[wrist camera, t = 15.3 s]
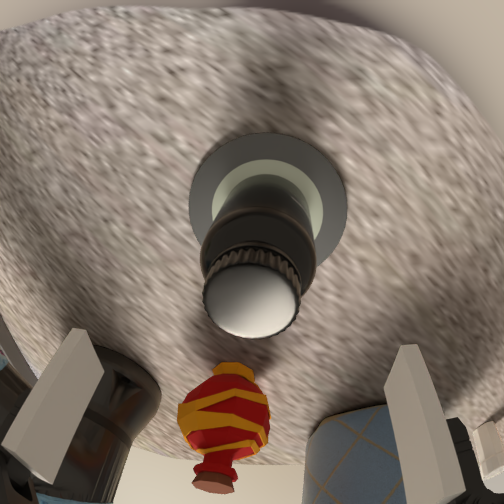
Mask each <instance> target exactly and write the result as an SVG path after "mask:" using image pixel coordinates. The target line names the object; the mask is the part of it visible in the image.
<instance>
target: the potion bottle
mask: <svg viewBox="0 0 504 504" xmlns="http://www.w3.org/2000/svg"><path fill="white" fill-rule="evenodd" d="M212 371H213V374H214V376H212V377H210V378H209V379H207V380H206V381H204V382H203V383H202V384H200V385H199V386H198V387H196V388H195V389H194V390H192V391H191V392H189V393H188V394H187V396H186V398H185V400H184V401H183V403H182V404H178V415H177V422H178V424H179V427H180V429H181V431H182V434H183V436H184V439H185V441H186V442H187V443H188V444H189V446H190V447H191V449H193V450H195V451H196V452H198V453H201V454H202V455H204V460H203V463H200V464H197V465H195V467H194V468H193V470H194V472H195V474H196V475H197V476H196V477H195V479H194V480H193V482H192V484H193V485H194V486H195V487H196V488H198V489H201V490H204V491H206V492H209V493H218V494H228V493H232V492H234V488H233V484H232V482H235V481H236V480H237V479H238V476H237V473H236V471H235V469H234V468H231V467H232V461H233V460H240V459H243V458H247V457H250V456H253V455H256V454H257V453H258V452H259V451H260V449H259V448H262V447H264V446H265V445H266V444H267V443H268V434H269V430H270V424H269V419H271V415H270V410H269V406H268V401H267V397H266V395H264V394H263V393H262V391H261V389H260V388H259V387H258V385H257V384H255V383H254V381H255V379H254V373H253V370H251V369H250V368H248V367H246V366H245V365H243V364H241V363H239V362H221V363H220V364H219V365H218V366H216V367H215V368H214V369H212Z"/></svg>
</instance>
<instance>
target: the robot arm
mask: <svg viewBox="0 0 504 504" xmlns="http://www.w3.org/2000/svg"><path fill="white" fill-rule="evenodd" d="M384 392H385V396H386V400H387V404H388V408H389V413H390V417H391V421H392V426H393V430H394V435H395V440H396V445H397V450H398V455H399V460H400V465H401V470H402V476H403V482H404V488H405V494H406V500H407V504H504V493H501V494H498V493H493V492H492V491H491V490H489V489H487V488H486V487H485V485H484V483H483V481H482V477H481V474H480V470H479V467H478V463H477V460H476V457H475V454H474V450H472V448H473V447H472V444H471V441H469V439H470V438H469V435H468V432H467V429H466V427H465V425H464V424H463V423H462V422H461V421H460V419H459V418H458V417H456V418H451V419H447V420H446V419H445V416H444V413H443V410H442V407H441V404H440V402H439V399H438V396H437V393H436V390H435V388H434V385H433V382H432V380H431V377H430V374H429V372H428V369H427V367H426V364H425V362H424V359H423V357H422V354H421V352H420V349H419V347H418V345H417V344H410V345H401V346H400V348H399V351H398V354H397V356H396V359H395V361H394V364H393V366H392V369H391V371H390V374H389V376H388V378H387V381H386V383H385V385H384ZM160 402H161V392H160V390H159V387H158V386H157V384H156V382H155V381H154V380H153V379H152V377H151V376H150V375H149V374H148V373H147V372H146V371H145V370H143V369H142V368H141V367H140V366H138V365H137V364H136V363H134V362H133V361H131V360H130V359H128V358H126V357H124V356H123V355H121V354H119V353H117V352H114V351H112V350H109V349H107V348H103V347H100V346H95V345H92V343H91V341H90V338H89V336H88V333H87V331H86V330H83V329H77V328H72V330H71V331H70V333H69V334H68V335H67V337H66V338H65V340H64V341H63V343H62V344H61V346H60V347H59V349H58V350H57V352H56V353H55V355H54V356H53V358H52V359H51V361H50V362H49V364H48V365H47V367H46V368H45V370H44V372H43V373H42V375H41V376H40V378H39V379H38V381H37V383H36V384H35V386H34V387H32V386H31V385H30V384H29V383H28V382H27V381H26V380H25V379H24V378H23V377H22V376H21V375H20V373H19V372H18V371H17V370H16V369H15V368H14V367H13V366H12V365H11V364H10V363H9V361H8V359H7V358H6V356H4V355H2V354H1V353H0V504H113V499H114V497H115V493H116V490H117V487H118V484H119V481H120V478H121V475H122V471H123V469H124V465H125V463H126V460H127V457H128V454H129V451H130V448H131V445H132V443H133V441H134V439H135V438H136V437H137V436H138V434H139V433H140V432H141V431H142V430H143V429H144V428H145V426H146V425H147V424H148V423H149V422H150V421H151V419H152V418H153V417H154V416H155V415H156V413H157V410H158V408H159V405H160Z"/></svg>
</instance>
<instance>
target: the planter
mask: <svg viewBox="0 0 504 504" xmlns="http://www.w3.org/2000/svg"><path fill="white" fill-rule="evenodd" d="M302 504H407V500H406V494H405V488H404V482H403V476H402V470H401V465H400V460H399V455H398V450H397V445H396V440H395V435H394V430H393V426H392V421H391V417H390V413H389V408H388V404H384V405H378V406H373V407H368V408H363V409H359V410H355V411H351V412H346V413H342V414H338V415H334V416H330V417H327V418H325V419H323V421H322V422H321V423H320V425H319V427H318V428H317V430H316V431H315V432H314V433H313V435H312V436H311V437H310V438H309V440H308V442H307V446H306V454H305V473H304V486H303V497H302Z"/></svg>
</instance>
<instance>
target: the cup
mask: <svg viewBox="0 0 504 504" xmlns="http://www.w3.org/2000/svg"><path fill="white" fill-rule="evenodd" d="M473 437H474V441H475V445H476V449H477V454H478V458H479V463H480V466H479V467H480V472H481V477H482V480H487V479H490V478H492V477H494V476H496V475H498V474H500V473H501V472H503V471H504V444H503V442H502V439H501V437H500V435H499V432H498V430H497V428H496V425H495V423H494V422H493V421H490V422H487V423H484V424H483V425H481V426H480V427H478V428H477V429H476V430H475V431H474V432H473Z"/></svg>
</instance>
